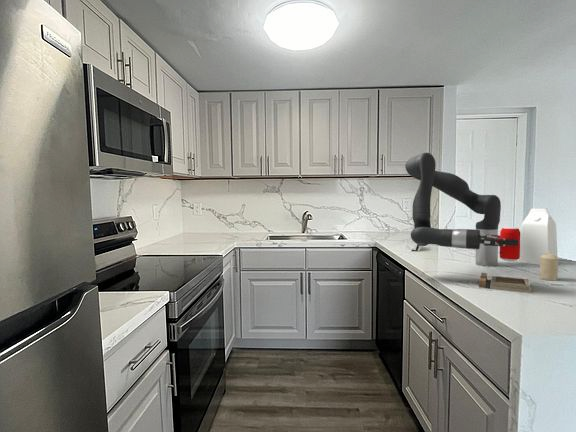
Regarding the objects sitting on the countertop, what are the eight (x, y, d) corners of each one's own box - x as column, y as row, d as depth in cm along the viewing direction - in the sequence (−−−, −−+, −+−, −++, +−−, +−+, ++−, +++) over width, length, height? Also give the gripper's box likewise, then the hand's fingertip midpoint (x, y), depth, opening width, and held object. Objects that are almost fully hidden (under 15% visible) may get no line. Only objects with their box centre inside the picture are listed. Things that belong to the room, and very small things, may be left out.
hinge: (406, 247, 221) (412, 232, 220) (413, 249, 221) (419, 235, 219) (410, 251, 205) (416, 235, 204) (418, 254, 204) (424, 238, 203)
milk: (557, 262, 164) (558, 208, 162) (548, 265, 157) (549, 209, 155) (529, 258, 173) (529, 207, 172) (518, 262, 167) (519, 209, 165)
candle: (540, 276, 138) (540, 252, 138) (557, 278, 135) (558, 253, 134) (539, 279, 134) (539, 254, 133) (557, 281, 131) (557, 255, 130)
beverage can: (500, 257, 129) (500, 226, 128) (519, 259, 125) (520, 227, 125) (498, 260, 124) (499, 227, 123) (519, 262, 121) (520, 228, 120)
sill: (481, 278, 137) (481, 272, 137) (487, 279, 136) (487, 273, 136) (479, 287, 125) (479, 280, 125) (485, 288, 124) (485, 281, 124)
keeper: (491, 281, 134) (491, 275, 134) (528, 284, 127) (528, 278, 127) (490, 288, 124) (490, 282, 123) (530, 292, 117) (530, 286, 117)
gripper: (464, 231, 126) (519, 233, 117) (467, 227, 138) (517, 229, 129) (463, 251, 126) (518, 255, 117) (467, 245, 138) (517, 248, 129)
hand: (517, 241), depth 123 cm, fingers closed on beverage can, 6 cm apart
